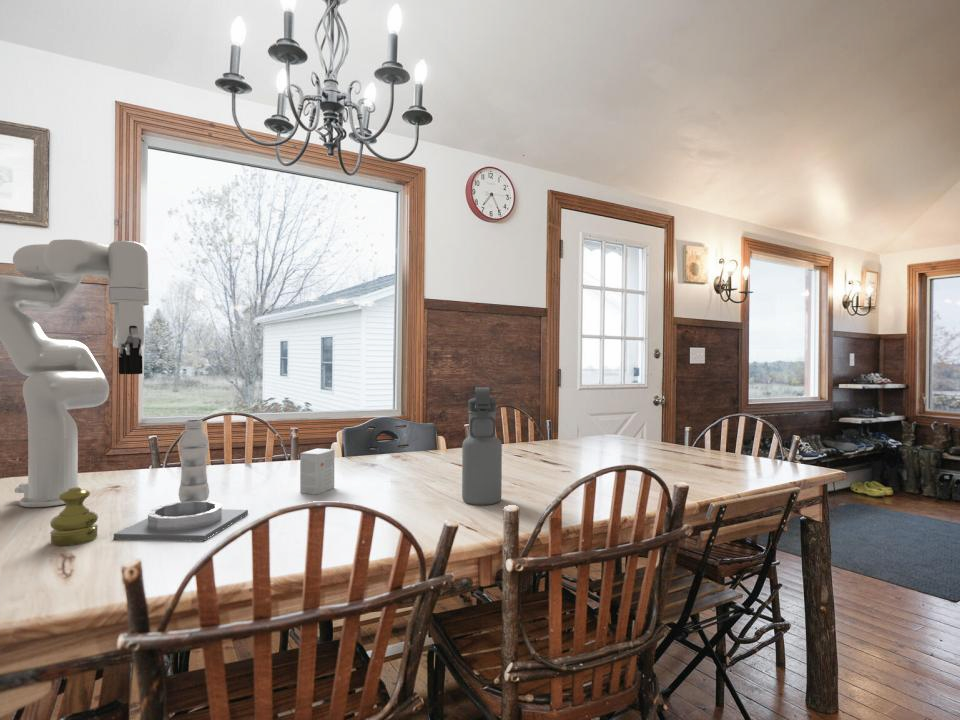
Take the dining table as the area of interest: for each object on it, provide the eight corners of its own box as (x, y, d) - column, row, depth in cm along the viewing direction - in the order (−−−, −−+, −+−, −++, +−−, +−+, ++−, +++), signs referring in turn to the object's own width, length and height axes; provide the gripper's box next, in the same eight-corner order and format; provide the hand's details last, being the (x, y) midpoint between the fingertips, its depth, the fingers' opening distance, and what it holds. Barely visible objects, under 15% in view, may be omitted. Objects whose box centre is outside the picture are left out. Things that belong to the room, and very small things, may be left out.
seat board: (113, 539, 107) (113, 533, 107) (169, 512, 125) (169, 508, 125) (204, 540, 106) (204, 535, 106) (247, 514, 124) (247, 509, 124)
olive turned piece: (102, 532, 111) (102, 482, 111) (91, 544, 104) (91, 491, 104) (58, 536, 108) (58, 485, 108) (43, 548, 101) (43, 494, 101)
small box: (316, 486, 151) (317, 448, 151) (334, 487, 150) (335, 449, 150) (299, 493, 144) (299, 452, 144) (318, 494, 142) (318, 453, 142)
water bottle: (502, 506, 132) (503, 389, 132) (461, 506, 132) (462, 389, 132) (500, 495, 142) (500, 386, 142) (462, 495, 142) (462, 386, 142)
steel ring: (133, 530, 109) (133, 517, 109) (173, 511, 122) (173, 500, 122) (199, 531, 108) (199, 518, 108) (232, 512, 122) (232, 501, 122)
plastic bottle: (196, 508, 129) (197, 422, 129) (171, 506, 130) (171, 421, 130) (215, 501, 135) (215, 419, 135) (191, 499, 137) (191, 418, 137)
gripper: (104, 300, 128) (105, 374, 128) (114, 292, 115) (115, 374, 115) (141, 302, 133) (143, 373, 133) (155, 294, 120) (156, 373, 119)
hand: (130, 374), depth 124 cm, fingers open, 9 cm apart
